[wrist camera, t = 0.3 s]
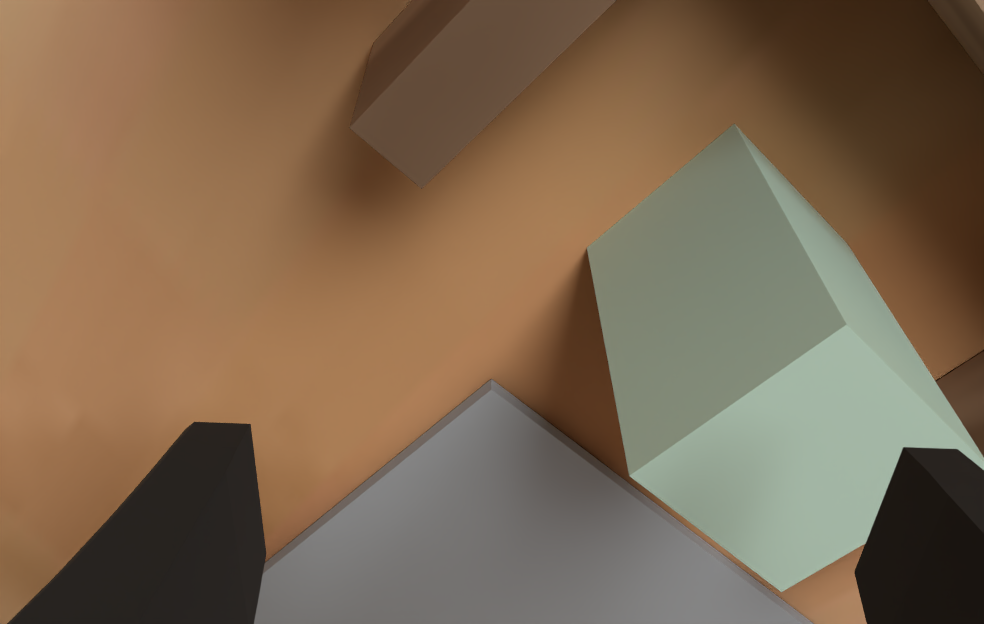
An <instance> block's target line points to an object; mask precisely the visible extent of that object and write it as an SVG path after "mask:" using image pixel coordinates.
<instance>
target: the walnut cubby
mask: <svg viewBox="0 0 984 624" xmlns="http://www.w3.org/2000/svg"><path fill="white" fill-rule="evenodd" d="M615 1H616V0H412V1H411V2H410V4H409V5H408V6H407V7H406V8H405V9H404V10H403V11H402V12H401V13H400V14H399V16H398V17H397V18H396V19H395V20H394V21H393V22H392V23H391V24H390V25H389V26H388V28H387V29H386V30H385V31H384V32H383V33H382V34H381V35H380V36H379V37H378V39H377V40H376V41H375V42H374V43H373V46H372V50H371V53H370V57H369V60H368V64H367V68H366V71H365V75H364V78H363V82H362V85H361V89H360V92H359V96H358V99H357V103H356V106H355V110H354V113H353V117H352V120H351V124H350V127H349V128H350V129H351V130H352V131H353V132H355V133H356V134H357V135H358V136H359V137H361V138H362V139H363V140H364V141H365V142H366V143H368V144H369V145H370V146H371V147H372V148H374V149H375V150H376V151H377V152H378V153H380V154H381V155H382V156H383V157H384V158H386V159H387V160H388V161H389V162H390V163H392V164H393V165H394V166H395V167H396V168H398V169H399V170H400V171H401V172H402V173H404V174H405V175H406V176H407V177H408V178H409V179H411V180H412V181H413V182H414V183H415V184H417V185H418V186H419V187H420V188H421V189H422V188H423V187H424V186H425V185H426V184H427V183H428V182H429V181H430V180H432V179H433V178H434V177H435V176H436V175H437V174H438V173H439V172H440V171H441V170H442V169H443V168H444V167H445V166H446V165H447V164H448V163H449V162H450V161H451V160H452V159H453V158H454V157H455V156H456V155H457V154H458V153H459V152H460V151H461V150H462V149H464V148H465V147H466V146H467V145H468V144H469V143H470V142H471V141H472V140H473V139H474V138H475V137H476V136H477V135H478V134H479V133H480V132H481V131H482V130H483V129H484V128H485V127H486V126H487V125H488V124H489V123H490V122H491V121H492V120H493V119H494V118H496V117H497V116H498V115H499V114H500V113H501V112H502V111H503V110H504V109H505V108H506V107H507V106H508V105H509V104H510V103H511V102H512V101H513V100H514V99H515V98H516V97H517V96H518V95H519V94H520V93H521V92H522V91H523V90H524V89H525V88H527V87H528V86H529V85H530V84H531V83H532V82H533V81H534V80H535V79H536V78H537V77H538V76H539V75H540V74H541V73H542V72H543V71H544V70H545V69H546V68H547V67H548V66H549V65H550V64H551V63H552V62H553V61H554V60H555V59H556V58H557V57H559V56H560V55H561V54H562V53H563V52H564V51H565V50H566V49H567V48H568V47H569V46H570V45H571V44H572V43H573V42H574V41H575V40H576V39H577V38H578V37H579V36H580V35H581V34H582V33H583V32H584V31H585V30H586V29H587V28H588V27H589V26H591V25H592V24H593V23H594V22H595V21H596V20H597V19H598V18H599V17H600V16H601V15H602V14H603V13H604V12H605V11H606V10H607V9H608V8H609V7H610V6H611V5H612V4H613V3H614V2H615ZM927 1H928V2H929V3H930V5H931V6H932V7H933V9H934V10H935V11H936V13H937V14H938V15H939V16H940V18H941V19H942V20H943V22H944V23H945V24H946V26H947V27H948V28H949V30H950V31H951V32H952V34H953V35H954V36H955V38H956V39H957V40H958V42H959V43H960V44H961V46H962V47H963V48H964V50H965V51H966V52H967V54H968V55H969V56H970V58H971V59H972V60H973V62H974V63H975V64H976V65H977V67H978V68H979V69H980V71H981V72H982V73H983V75H984V0H927ZM936 383H937V385H938V386H939V388H940V390H941V391H942V393H943V394H944V396H945V397H946V399H947V401H948V402H949V404H950V405H951V407H952V408H953V410H954V411H955V413H956V415H957V416H958V418H959V419H960V421H961V422H962V424H963V426H964V427H965V429H966V430H967V432H968V433H969V435H970V437H971V438H972V440H973V441H974V443H975V444H976V446H977V447H978V449H979V451H980V452H981V454H982V455H983V457H984V351H983V352H981V353H980V354H978V355H977V356H975V357H973V358H972V359H970V360H969V361H967V362H966V363H964V364H963V365H961V366H959V367H958V368H956V369H955V370H953V371H952V372H950V373H948V374H947V375H945V376H944V377H942V378H941V379H939V380H938V381H936Z"/></svg>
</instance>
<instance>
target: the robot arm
mask: <svg viewBox="0 0 984 624" xmlns="http://www.w3.org/2000/svg"><path fill="white" fill-rule="evenodd" d="M265 558H266V548H265V540H264V531H263V523H262V515H261V507H260V498H259V490H258V482H257V474H256V465H255V457H254V449H253V441H252V432H251V424H237V423H209V422H194V423H193V424H191V425H190V426H189V427H188V428H187V429H185V430H184V432H183V433H182V434H181V435H180V436H179V438H178V439H177V440H176V441H175V442H174V444H173V445H172V446H171V447H170V448H169V449H168V451H167V452H166V453H165V454H164V455H163V457H162V458H161V459H160V460H159V461H158V463H157V464H156V465H155V466H154V467H153V468H152V470H151V471H150V472H149V473H148V474H147V476H146V477H145V478H144V479H143V480H142V481H141V483H140V484H139V485H138V486H137V487H136V488H135V489H134V491H133V492H132V493H131V494H130V495H129V496H128V497H127V499H126V500H125V501H124V502H123V503H122V504H121V505H120V507H119V508H118V509H117V510H116V511H115V512H114V513H113V515H112V516H111V517H110V518H109V519H108V520H107V521H106V522H105V523H104V524H103V525H102V527H101V528H100V529H99V530H98V531H97V532H96V533H95V534H94V535H93V536H92V537H91V538H90V539H89V541H88V542H87V543H86V544H85V545H84V546H83V547H82V548H81V549H80V550H79V551H78V552H77V554H76V555H75V556H74V557H73V558H72V559H71V560H70V561H69V562H68V563H67V564H66V565H65V567H64V568H63V569H62V570H61V571H60V572H59V573H58V574H57V575H56V576H55V577H54V578H53V579H52V580H51V581H50V582H49V583H48V584H47V585H46V586H45V587H44V588H43V589H42V590H41V591H40V592H39V593H38V594H37V595H36V596H35V597H34V598H33V599H32V600H31V601H30V602H29V603H28V604H27V605H26V606H25V607H24V608H23V609H22V610H21V611H20V612H19V613H18V614H17V615H16V616H15V617H14V618H13V619H12V620H11V621H10V622H8V623H7V624H254V620H255V615H256V609H257V604H258V599H259V593H260V587H261V581H262V575H263V570H264V564H265ZM855 577H856V581H857V585H858V589H859V593H860V597H861V601H862V605H863V610H864V614H865V618H866V622H867V624H984V470H983V469H982V468H981V467H979V466H978V465H977V464H976V463H974V462H973V461H972V460H971V459H969V458H968V457H967V456H966V455H964V454H963V453H962V452H961V451H959V450H958V449H943V448H914V447H903V449H902V452H901V454H900V457H899V459H898V462H897V465H896V467H895V470H894V472H893V475H892V477H891V480H890V482H889V485H888V488H887V490H886V493H885V495H884V498H883V500H882V503H881V505H880V508H879V511H878V513H877V516H876V518H875V521H874V523H873V526H872V528H871V531H870V534H869V536H868V539H867V541H866V544H865V546H864V549H863V552H862V554H861V557H860V559H859V562H858V564H857V567H856V569H855Z"/></svg>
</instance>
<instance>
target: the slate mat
mask: <svg viewBox="0 0 984 624" xmlns="http://www.w3.org/2000/svg"><path fill="white" fill-rule="evenodd" d="M254 624H813V623H812V622H811V621H809V620H808V619H807V618H806V617H804V616H803V615H802V614H800V613H799V612H798V611H796V610H795V609H794V608H792V607H791V606H790V605H788V604H787V603H786V602H784V601H783V600H782V599H781V598H779V597H778V596H777V595H775V594H774V593H773V592H771V591H770V590H769V589H767V588H766V587H765V586H763V585H762V584H761V583H759V582H758V581H757V580H755V579H754V578H753V577H752V576H750V575H749V574H748V573H746V572H745V571H744V570H742V569H741V568H740V567H738V566H737V565H736V564H734V563H733V562H732V561H730V560H729V559H728V558H727V557H725V556H724V555H723V554H721V553H720V552H719V551H717V550H716V549H715V548H713V547H712V546H711V545H709V544H708V543H707V542H705V541H704V540H703V539H701V538H700V537H699V536H698V535H696V534H695V533H694V532H692V531H691V530H690V529H688V528H687V527H686V526H684V525H683V524H682V523H680V522H679V521H678V520H676V519H675V518H674V517H673V516H671V515H670V514H669V513H667V512H666V511H665V510H663V509H662V508H661V507H659V506H658V505H657V504H655V503H654V502H653V501H651V500H650V499H649V498H648V497H646V496H645V495H644V494H642V493H641V492H640V491H638V490H637V489H636V488H634V487H633V486H632V485H630V484H629V483H628V482H626V481H625V480H624V479H622V478H621V477H620V476H619V475H617V474H616V473H615V472H613V471H612V470H611V469H609V468H608V467H607V466H605V465H604V464H603V463H601V462H600V461H599V460H597V459H596V458H595V457H594V456H592V455H591V454H590V453H588V452H587V451H586V450H584V449H583V448H582V447H580V446H579V445H578V444H576V443H575V442H574V441H572V440H571V439H570V438H569V437H567V436H566V435H565V434H563V433H562V432H561V431H559V430H558V429H557V428H555V427H554V426H553V425H551V424H550V423H549V422H547V421H546V420H545V419H543V418H542V417H541V416H540V415H538V414H537V413H536V412H534V411H533V410H532V409H530V408H529V407H528V406H526V405H525V404H524V403H522V402H521V401H520V400H518V399H517V398H516V397H515V396H513V395H512V394H511V393H509V392H508V391H507V390H505V389H504V388H503V387H501V386H500V385H499V384H497V383H496V382H495V381H493V380H492V379H491V380H489V381H488V382H487V383H486V384H484V385H483V386H482V387H481V388H479V389H478V390H477V391H476V392H475V393H473V394H472V395H471V396H470V397H468V398H467V399H466V400H465V401H463V402H462V403H461V404H460V405H459V406H457V407H456V408H455V409H454V410H452V411H451V412H450V413H449V414H447V415H446V416H445V417H444V418H443V419H441V420H440V421H439V422H438V423H436V424H435V425H434V426H433V427H432V428H430V429H429V430H428V431H427V432H425V433H424V434H423V435H422V436H420V437H419V438H418V439H417V440H416V441H414V442H413V443H412V444H411V445H409V446H408V447H407V448H406V449H404V450H403V451H402V452H401V453H400V454H398V455H397V456H396V457H395V458H393V459H392V460H391V461H390V462H388V463H387V464H386V465H385V466H384V467H382V468H381V469H380V470H379V471H377V472H376V473H375V474H374V475H372V476H371V477H370V478H369V479H368V480H366V481H365V482H364V483H363V484H361V485H360V486H359V487H358V488H356V489H355V490H354V491H353V492H352V493H350V494H349V495H348V496H347V497H345V498H344V499H343V500H342V501H341V502H339V503H338V504H337V505H336V506H334V507H333V508H332V509H331V510H329V511H328V512H327V513H326V514H325V515H323V516H322V517H321V518H320V519H318V520H317V521H316V522H315V523H313V524H312V525H311V526H310V527H309V528H307V529H306V530H305V531H304V532H302V533H301V534H300V535H299V536H297V537H296V538H295V539H294V540H293V541H291V542H290V543H289V544H288V545H286V546H285V547H284V548H283V549H281V550H280V551H279V552H278V553H277V554H275V555H274V556H273V557H272V558H270V559H269V560H268V561H267V562H265V564H264V570H263V575H262V581H261V587H260V593H259V599H258V604H257V609H256V615H255V620H254Z"/></svg>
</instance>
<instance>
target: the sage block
mask: <svg viewBox="0 0 984 624" xmlns="http://www.w3.org/2000/svg"><path fill="white" fill-rule="evenodd" d="M587 251H588V257H589V262H590V268H591V273H592V278H593V284H594V289H595V294H596V300H597V305H598V311H599V316H600V321H601V327H602V332H603V338H604V343H605V348H606V354H607V359H608V364H609V370H610V375H611V381H612V386H613V391H614V397H615V402H616V407H617V413H618V418H619V424H620V429H621V434H622V440H623V445H624V450H625V456H626V461H627V467H628V472H629V476H630V477H631V478H633V479H634V480H635V481H637V482H638V483H639V484H640V485H642V486H643V487H644V488H646V489H647V490H648V491H650V492H651V493H652V494H654V495H655V496H656V497H657V498H659V499H660V500H661V501H663V502H664V503H665V504H667V505H668V506H669V507H671V508H672V509H673V510H675V511H676V512H677V513H678V514H680V515H681V516H682V517H684V518H685V519H686V520H688V521H689V522H690V523H692V524H693V525H694V526H695V527H697V528H698V529H699V530H701V531H702V532H703V533H705V534H706V535H707V536H709V537H710V538H711V539H713V540H714V541H715V542H716V543H718V544H719V545H720V546H722V547H723V548H724V549H726V550H727V551H728V552H730V553H731V554H732V555H733V556H735V557H736V558H737V559H739V560H740V561H741V562H743V563H744V564H745V565H747V566H748V567H749V568H751V569H752V570H753V571H754V572H756V573H757V574H758V575H760V576H761V577H762V578H764V579H765V580H766V581H768V582H769V583H770V584H771V585H773V586H774V587H775V588H777V589H778V590H779V591H781V592H783V591H784V590H786V589H788V588H789V587H791V586H793V585H795V584H796V583H798V582H800V581H801V580H803V579H805V578H807V577H808V576H810V575H812V574H813V573H815V572H817V571H819V570H820V569H822V568H824V567H825V566H827V565H829V564H831V563H832V562H834V561H836V560H837V559H839V558H841V557H843V556H844V555H846V554H848V553H849V552H851V551H853V550H855V549H856V548H858V547H860V546H861V545H863V544H865V543H866V541H867V539H868V536H869V534H870V531H871V528H872V526H873V523H874V521H875V518H876V516H877V513H878V511H879V508H880V505H881V503H882V500H883V498H884V495H885V493H886V490H887V488H888V485H889V482H890V480H891V477H892V475H893V472H894V470H895V467H896V465H897V462H898V459H899V457H900V454H901V452H902V449H903V447H914V448H943V449H958V450H959V451H961V452H962V453H963V454H964V455H966V456H967V457H968V458H969V459H971V460H972V461H973V462H974V463H976V464H977V465H978V466H979V467H981V468H982V469H983V470H984V457H983V455H982V454H981V452H980V451H979V449H978V447H977V446H976V444H975V443H974V441H973V440H972V438H971V437H970V435H969V433H968V432H967V430H966V429H965V427H964V426H963V424H962V422H961V421H960V419H959V418H958V416H957V415H956V413H955V411H954V410H953V408H952V407H951V405H950V404H949V402H948V401H947V399H946V397H945V396H944V394H943V393H942V391H941V390H940V388H939V386H938V385H937V383H936V382H935V380H934V379H933V377H932V375H931V374H930V372H929V371H928V369H927V368H926V366H925V365H924V363H923V361H922V360H921V358H920V357H919V355H918V354H917V352H916V350H915V349H914V347H913V346H912V344H911V343H910V341H909V339H908V338H907V336H906V335H905V333H904V332H903V330H902V329H901V327H900V325H899V324H898V322H897V321H896V319H895V318H894V316H893V314H892V313H891V311H890V310H889V308H888V307H887V305H886V303H885V302H884V300H883V299H882V297H881V296H880V294H879V293H878V291H877V289H876V288H875V286H874V285H873V283H872V282H871V280H870V278H869V277H868V275H867V274H866V272H865V271H864V269H863V268H862V266H861V264H860V263H859V261H858V260H857V258H856V257H855V255H854V253H853V252H852V250H851V249H850V247H849V246H848V244H847V243H846V242H845V241H844V240H843V239H842V238H841V236H840V235H839V234H838V233H837V232H836V231H835V230H834V229H833V228H832V227H831V226H830V225H829V224H828V223H827V222H826V221H825V219H824V218H823V217H822V216H821V215H820V214H819V213H818V212H817V211H816V210H815V209H814V208H813V207H812V206H811V205H810V204H809V202H808V201H807V200H806V199H805V198H804V197H803V196H802V195H801V194H800V193H799V192H798V191H797V190H796V189H795V188H794V187H793V185H792V184H791V183H790V182H789V181H788V180H787V179H786V178H785V177H784V176H783V175H782V174H781V173H780V172H779V171H778V170H777V168H776V167H775V166H774V165H773V164H772V163H771V162H770V161H769V160H768V159H767V158H766V157H765V156H764V155H763V154H762V153H761V151H760V150H759V149H758V148H757V147H756V146H755V145H754V144H753V143H752V142H751V141H750V140H749V139H748V138H747V137H746V136H745V134H744V133H743V132H742V131H741V130H740V129H739V128H738V127H737V126H736V125H735V124H733V125H732V126H731V127H729V128H728V129H727V130H726V131H725V132H724V133H722V134H721V135H720V136H719V137H718V138H716V139H715V140H714V141H713V142H712V143H711V144H709V145H708V146H707V147H706V148H705V149H703V150H702V151H701V152H700V153H699V154H697V155H696V156H695V157H694V158H693V159H692V160H690V161H689V162H688V163H687V164H686V165H684V166H683V167H682V168H681V169H680V170H679V171H677V172H676V173H675V174H674V175H673V176H671V177H670V178H669V179H668V180H667V181H665V182H664V183H663V184H662V185H661V186H660V187H658V188H657V189H656V190H655V191H654V192H652V193H651V194H650V195H649V196H648V197H647V198H645V199H644V200H643V201H642V202H641V203H639V204H638V205H637V206H636V207H635V208H633V209H632V210H631V211H630V212H629V213H628V214H626V215H625V216H624V217H623V218H622V219H620V220H619V221H618V222H617V223H616V224H615V225H613V226H612V227H611V228H610V229H609V230H607V231H606V232H605V233H604V234H603V235H601V236H600V237H599V238H598V239H597V240H596V241H594V242H593V243H592V244H591V245H590V246H588V247H587Z"/></svg>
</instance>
